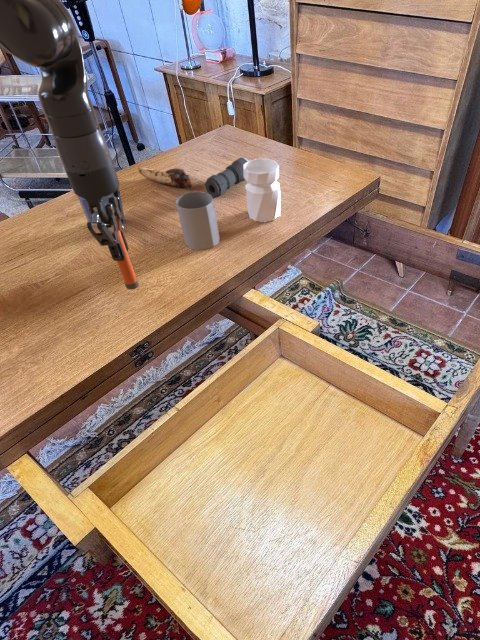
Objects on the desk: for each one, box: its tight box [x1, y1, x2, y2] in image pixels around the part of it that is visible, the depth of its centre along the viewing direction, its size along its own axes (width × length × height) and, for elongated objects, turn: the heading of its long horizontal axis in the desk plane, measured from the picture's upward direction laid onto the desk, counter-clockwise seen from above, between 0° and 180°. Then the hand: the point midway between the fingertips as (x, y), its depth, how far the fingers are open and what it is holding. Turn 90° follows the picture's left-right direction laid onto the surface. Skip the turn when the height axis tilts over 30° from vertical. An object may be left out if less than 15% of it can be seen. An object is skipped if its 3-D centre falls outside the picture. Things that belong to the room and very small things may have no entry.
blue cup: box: [77, 196, 125, 228], centre depth 109 cm, size 8×8×9 cm
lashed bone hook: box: [138, 166, 193, 188], centre depth 127 cm, size 9×5×18 cm
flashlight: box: [204, 156, 249, 198], centre depth 123 cm, size 15×5×5 cm, turn 148°
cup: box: [175, 191, 221, 251], centre depth 104 cm, size 8×8×10 cm
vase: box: [243, 158, 282, 223], centre depth 111 cm, size 9×9×12 cm
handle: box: [110, 228, 140, 291], centre depth 85 cm, size 3×3×12 cm
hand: (121, 255), depth 84 cm, fingers closed on handle, 2 cm apart
